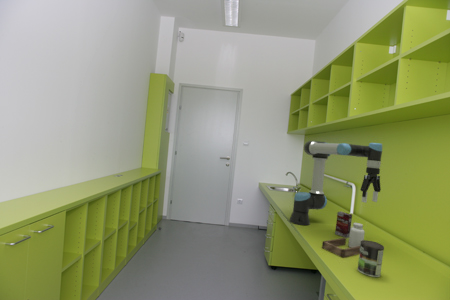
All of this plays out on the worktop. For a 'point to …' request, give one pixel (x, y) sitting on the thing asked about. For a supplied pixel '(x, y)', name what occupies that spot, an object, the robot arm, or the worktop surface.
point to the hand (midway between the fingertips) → (369, 201)
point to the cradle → (332, 247)
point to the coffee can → (370, 258)
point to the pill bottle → (356, 235)
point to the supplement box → (343, 224)
